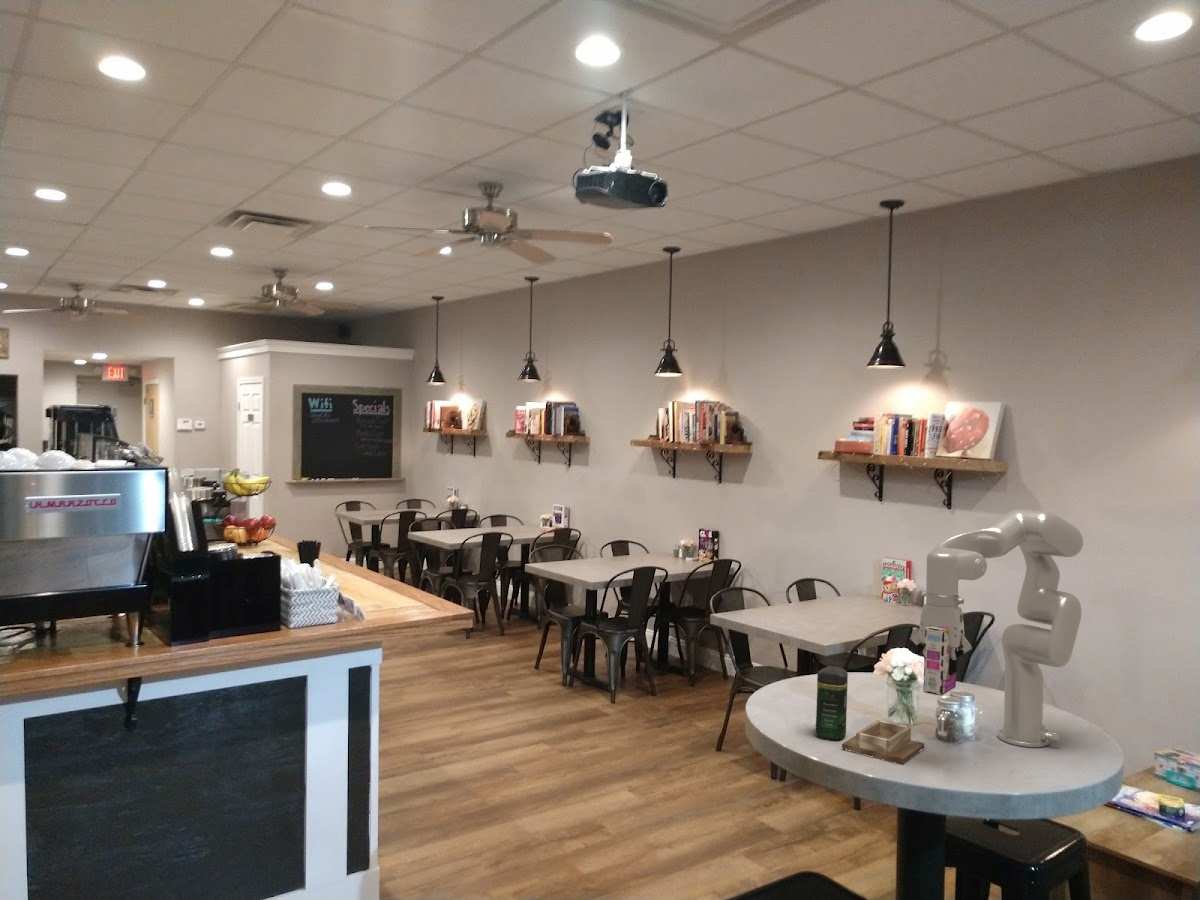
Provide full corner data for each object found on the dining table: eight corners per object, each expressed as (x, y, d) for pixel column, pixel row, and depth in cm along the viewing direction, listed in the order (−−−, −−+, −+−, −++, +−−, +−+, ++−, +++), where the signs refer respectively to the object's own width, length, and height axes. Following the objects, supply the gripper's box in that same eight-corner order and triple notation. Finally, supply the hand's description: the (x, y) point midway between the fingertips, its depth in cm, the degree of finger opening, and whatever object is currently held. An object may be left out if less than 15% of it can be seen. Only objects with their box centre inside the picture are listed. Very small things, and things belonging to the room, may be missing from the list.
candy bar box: (943, 696, 214) (944, 630, 214) (922, 693, 217) (923, 627, 217) (957, 687, 223) (958, 623, 223) (937, 683, 226) (938, 620, 226)
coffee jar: (842, 743, 233) (844, 673, 233) (812, 738, 236) (814, 669, 236) (848, 732, 241) (850, 666, 241) (820, 728, 245) (821, 662, 245)
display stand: (924, 748, 230) (924, 729, 230) (902, 764, 217) (903, 744, 217) (865, 735, 240) (866, 716, 240) (841, 749, 227) (842, 730, 227)
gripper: (981, 603, 217) (980, 675, 217) (913, 594, 228) (912, 664, 228) (972, 607, 212) (971, 681, 212) (903, 598, 222) (901, 669, 222)
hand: (940, 671), depth 220 cm, fingers closed on candy bar box, 5 cm apart
